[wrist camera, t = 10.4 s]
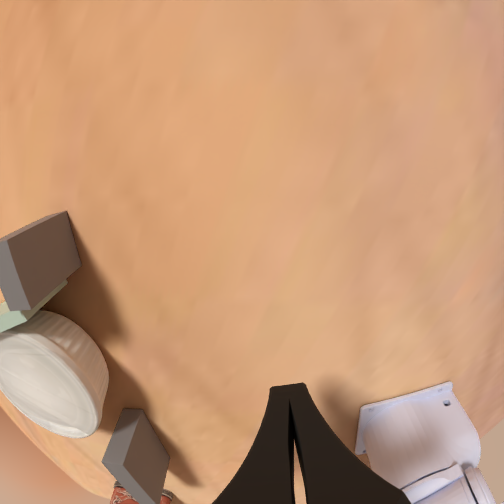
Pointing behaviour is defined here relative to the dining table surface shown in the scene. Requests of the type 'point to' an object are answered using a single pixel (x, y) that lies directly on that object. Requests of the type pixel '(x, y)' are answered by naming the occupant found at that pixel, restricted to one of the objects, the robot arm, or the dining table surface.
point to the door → (23, 311)
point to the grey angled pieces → (35, 290)
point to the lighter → (123, 500)
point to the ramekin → (54, 374)
